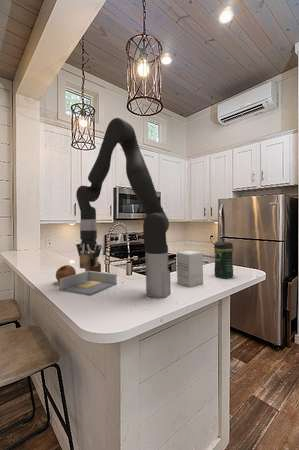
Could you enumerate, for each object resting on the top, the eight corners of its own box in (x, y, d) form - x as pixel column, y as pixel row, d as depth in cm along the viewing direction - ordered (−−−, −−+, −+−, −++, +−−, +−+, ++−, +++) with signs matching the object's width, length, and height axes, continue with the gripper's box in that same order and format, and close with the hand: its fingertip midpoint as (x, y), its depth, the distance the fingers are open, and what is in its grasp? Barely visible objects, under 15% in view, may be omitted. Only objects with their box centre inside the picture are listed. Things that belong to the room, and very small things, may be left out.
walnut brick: (86, 268, 105) (86, 255, 104) (79, 268, 107) (79, 255, 106) (98, 265, 112) (97, 253, 112) (91, 264, 114) (91, 252, 113)
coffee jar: (236, 277, 120) (235, 241, 119) (223, 279, 117) (222, 242, 117) (224, 273, 129) (223, 240, 129) (211, 275, 126) (211, 241, 126)
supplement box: (190, 280, 117) (190, 250, 117) (203, 284, 110) (203, 252, 109) (176, 283, 112) (176, 251, 112) (189, 287, 105) (188, 254, 104)
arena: (116, 284, 111) (116, 274, 111) (90, 295, 95) (90, 283, 95) (88, 280, 120) (87, 270, 120) (59, 290, 104) (59, 278, 104)
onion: (64, 291, 112) (60, 274, 107) (54, 283, 118) (49, 267, 113) (81, 280, 119) (77, 264, 114) (70, 273, 124) (66, 257, 119)
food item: (83, 274, 133) (83, 257, 133) (97, 272, 137) (97, 256, 137) (88, 279, 121) (88, 261, 121) (103, 277, 125) (103, 259, 125)
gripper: (71, 229, 109) (71, 266, 109) (94, 229, 102) (95, 268, 102) (82, 228, 115) (83, 263, 116) (105, 229, 109) (106, 265, 109)
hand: (89, 265), depth 109 cm, fingers closed on walnut brick, 4 cm apart
